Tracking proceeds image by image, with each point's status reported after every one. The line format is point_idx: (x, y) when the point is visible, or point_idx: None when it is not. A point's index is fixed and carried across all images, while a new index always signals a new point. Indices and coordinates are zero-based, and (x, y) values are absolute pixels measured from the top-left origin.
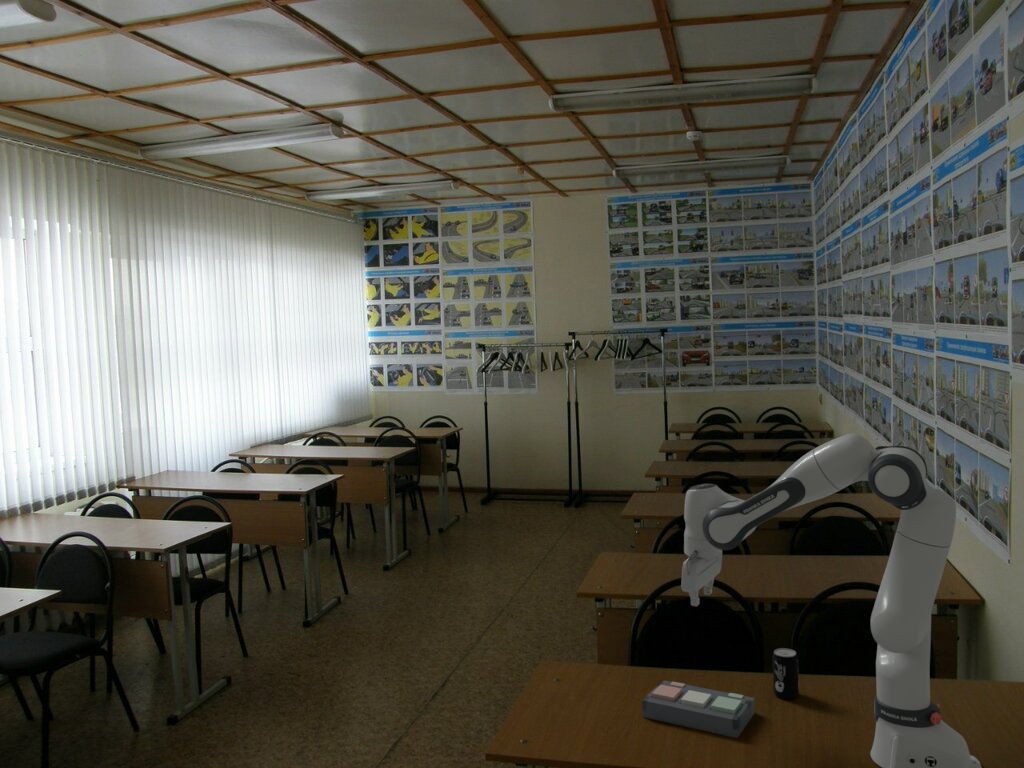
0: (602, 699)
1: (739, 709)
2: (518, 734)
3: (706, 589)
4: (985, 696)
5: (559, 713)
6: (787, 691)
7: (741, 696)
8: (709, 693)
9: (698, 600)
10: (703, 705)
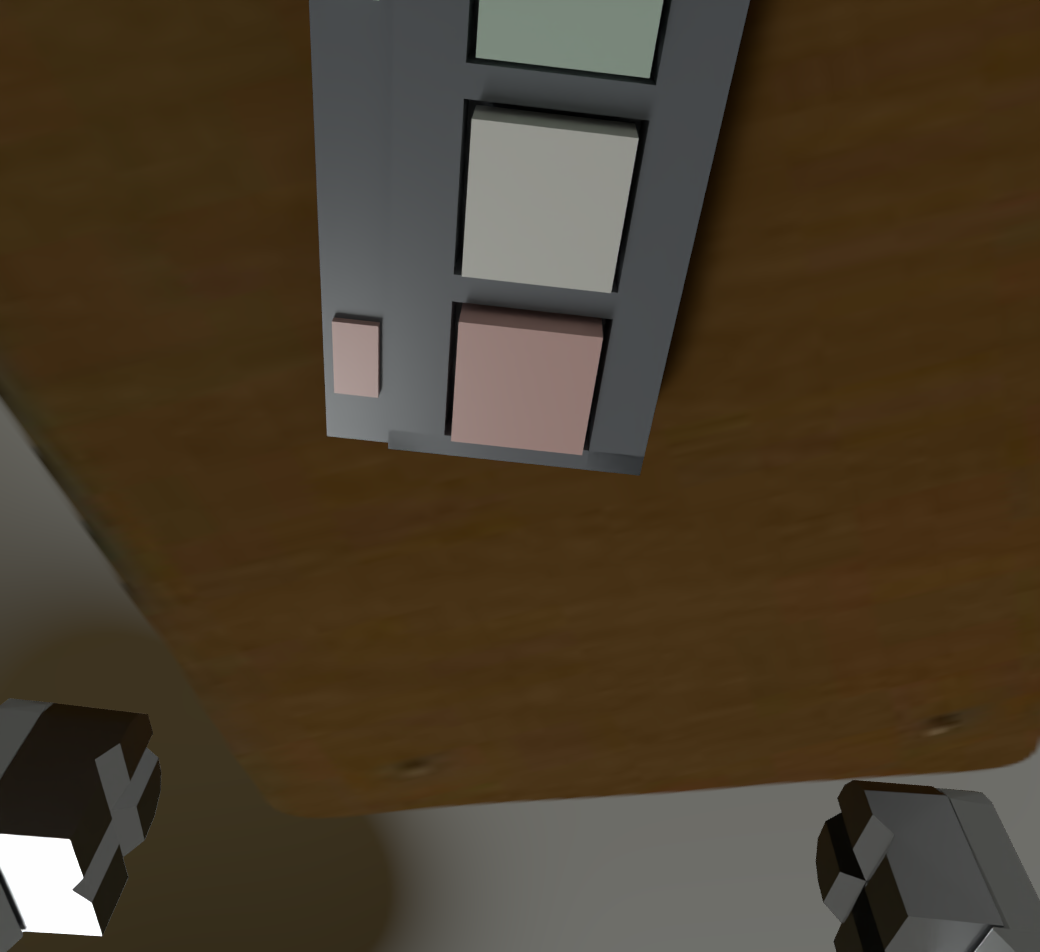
0: (516, 605)
1: None
2: (892, 747)
3: (97, 867)
4: None
5: (694, 693)
6: None
7: None
8: (405, 141)
9: (976, 886)
10: (635, 134)
